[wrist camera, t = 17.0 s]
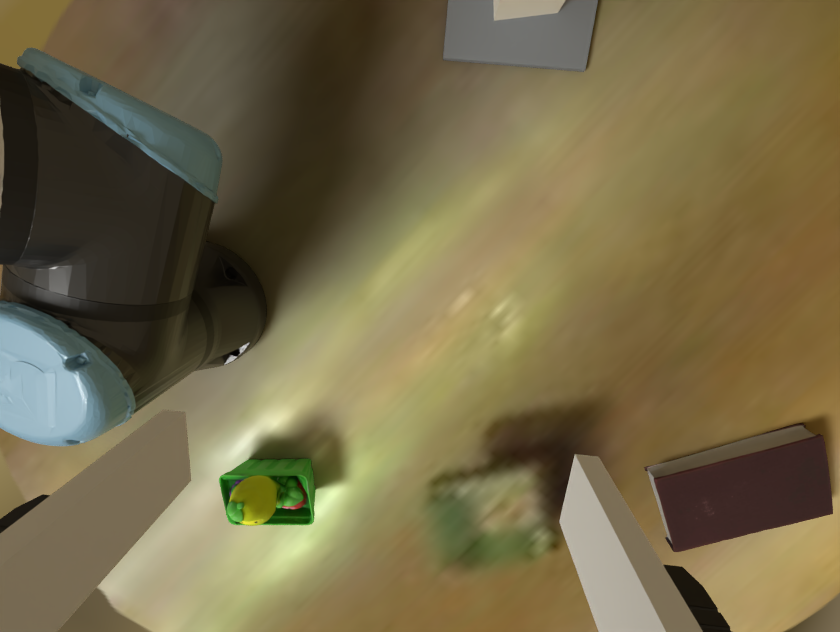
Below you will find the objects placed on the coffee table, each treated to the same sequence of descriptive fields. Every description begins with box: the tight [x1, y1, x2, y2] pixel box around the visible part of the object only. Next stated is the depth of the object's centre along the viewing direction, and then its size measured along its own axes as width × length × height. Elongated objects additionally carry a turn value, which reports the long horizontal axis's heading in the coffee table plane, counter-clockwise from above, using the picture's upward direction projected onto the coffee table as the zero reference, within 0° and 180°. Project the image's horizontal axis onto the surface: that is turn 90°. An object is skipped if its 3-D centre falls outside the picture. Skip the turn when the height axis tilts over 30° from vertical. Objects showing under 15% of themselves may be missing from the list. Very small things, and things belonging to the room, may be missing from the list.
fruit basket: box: [219, 459, 316, 526], centre depth 50 cm, size 11×9×11 cm
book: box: [644, 423, 833, 552], centre depth 51 cm, size 12×19×3 cm, turn 112°
